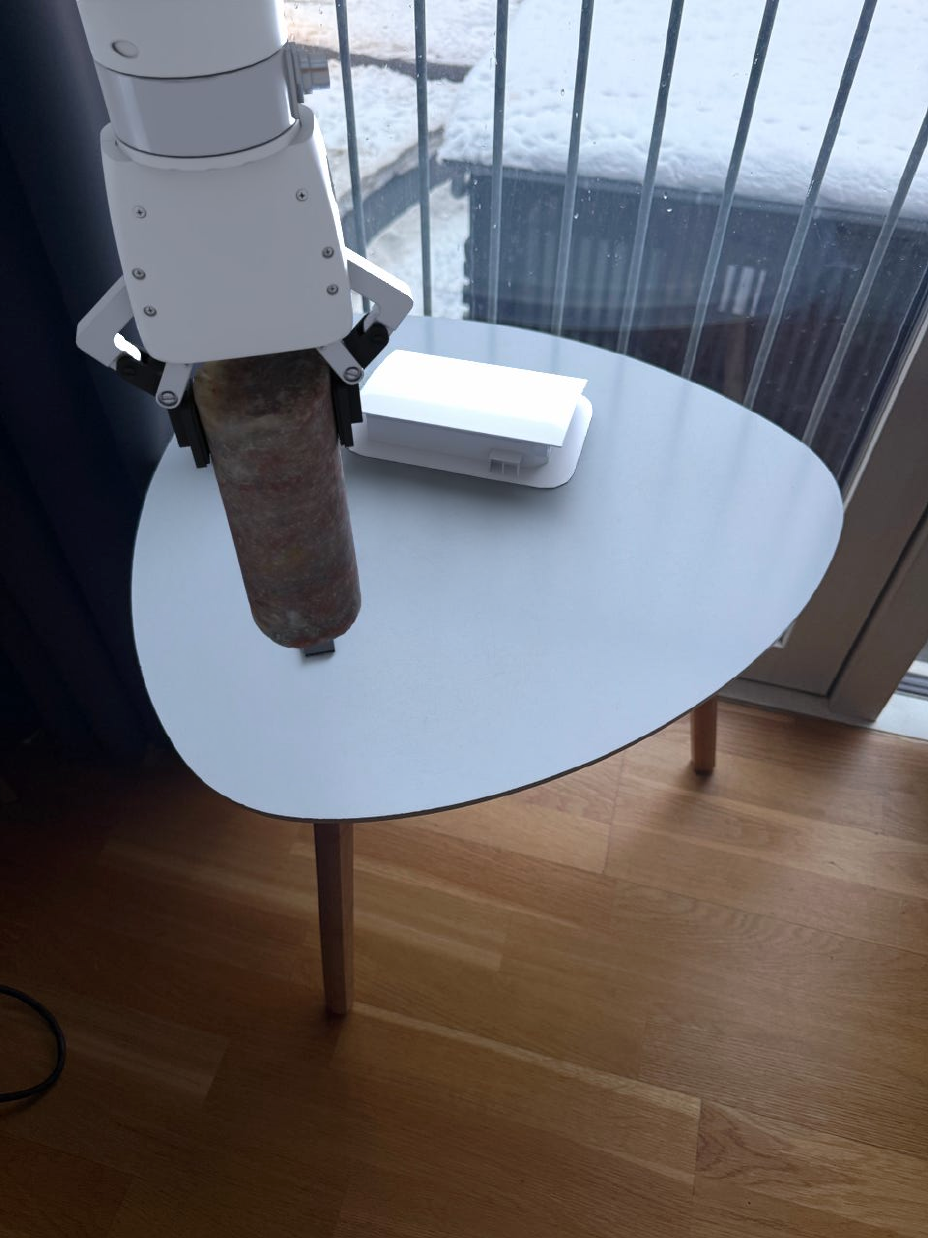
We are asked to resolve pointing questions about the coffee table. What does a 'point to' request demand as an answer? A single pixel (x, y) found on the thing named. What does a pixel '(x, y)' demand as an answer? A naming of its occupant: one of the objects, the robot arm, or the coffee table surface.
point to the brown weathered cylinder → (283, 491)
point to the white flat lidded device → (473, 419)
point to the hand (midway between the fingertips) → (274, 439)
